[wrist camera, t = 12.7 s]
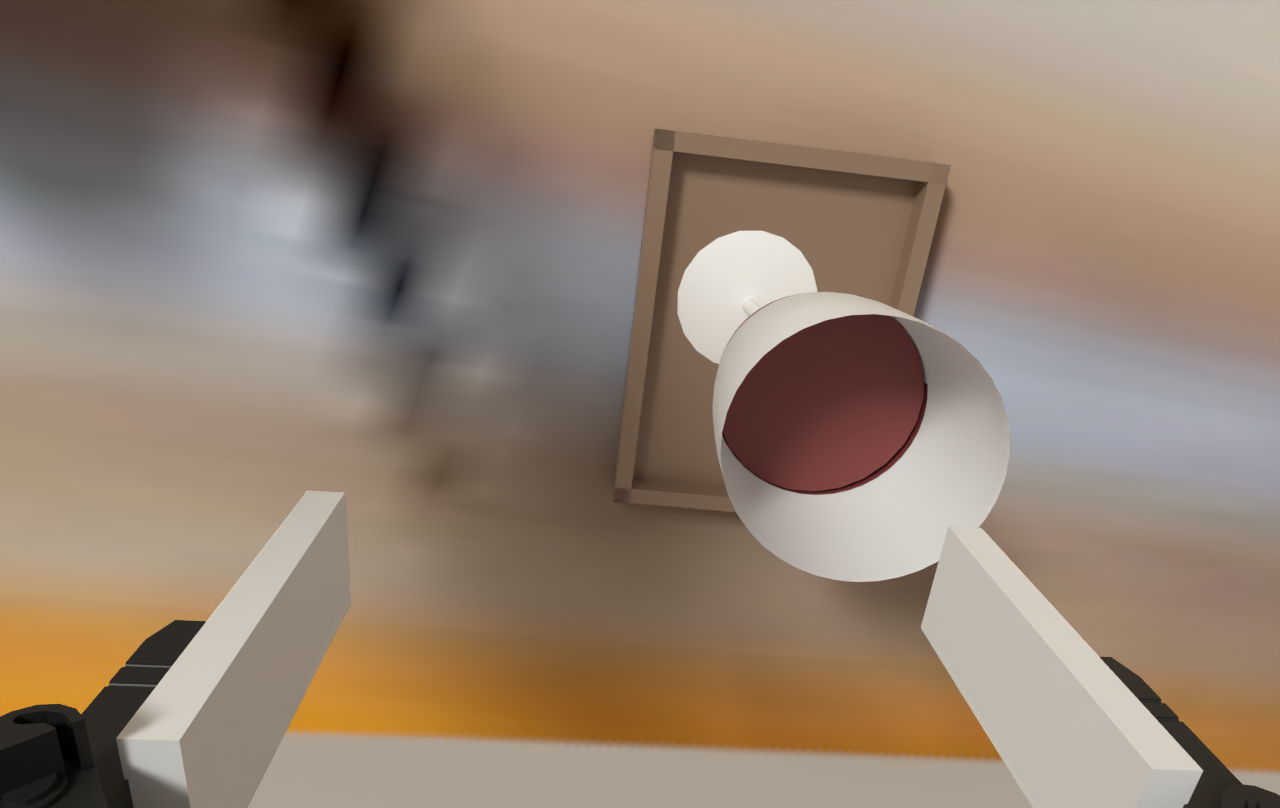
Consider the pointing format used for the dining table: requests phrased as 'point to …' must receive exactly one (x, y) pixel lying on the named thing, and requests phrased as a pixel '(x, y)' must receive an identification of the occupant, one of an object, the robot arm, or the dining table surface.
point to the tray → (751, 201)
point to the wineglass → (839, 415)
